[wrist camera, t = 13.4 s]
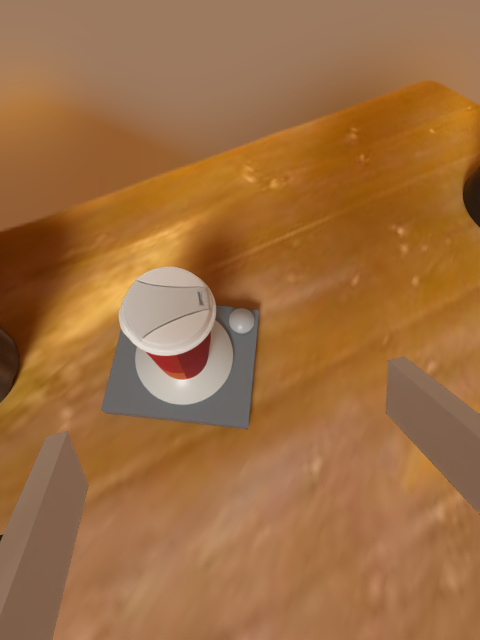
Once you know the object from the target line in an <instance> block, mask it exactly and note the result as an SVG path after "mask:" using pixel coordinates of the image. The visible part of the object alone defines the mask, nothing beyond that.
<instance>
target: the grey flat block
mask: <svg viewBox="0 0 480 640" xmlns="http://www.w3.org/2000/svg"><path fill="white" fill-rule="evenodd" d="M258 318H259V310H256V309H247V308H238V307H230V306H221V305H216V317H215V322H214V325H213V327H212V329H211V341H210V347H209V355H208V360H207V363H206V366H205V367H204V369H203V370H202V371H201V372H200V373H199V374H198V375H197V376H195V377H193V378H190V379H185V380H179V379H175V378H172V377H170V376H168V375H167V374H166V373H165V372H164V371H163V370H162V369H161V368H160V367H159V366H158V365H157V364H156V363H155V362H154V361H153V360H152V358H151V357H150V356H149V355H148V354H147V353H146V352H145V351H144V350H142V349H140V348H138V347H137V346H136V345H135V344H133V343H132V341H131V340H130V339H129V338H128V337H127V336H126V335H125V334H124V333H123V331H122V329H121V332H120V336H119V340H118V344H117V348H116V352H115V356H114V360H113V364H112V368H111V372H110V376H109V380H108V384H107V388H106V393H105V397H104V401H103V405H102V409H101V411H103V412H105V413H108V414H117V415H126V416H134V417H143V418H152V419H161V420H170V421H178V422H187V423H196V424H205V425H213V426H222V427H231V428H240V429H248V425H249V415H250V404H251V393H252V382H253V372H254V361H255V350H256V339H257V328H258Z"/></svg>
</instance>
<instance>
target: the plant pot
mask: <svg viewBox="0 0 480 640" xmlns="http://www.w3.org/2000/svg"><path fill="white" fill-rule="evenodd" d="M18 368H19V356H18V351H17V348H16V346H15V344H14V341H13V340H12V339H11V337H10V336H9V335H8V334H7V333H6V332H5V331H4V330H3V329H2V328H0V402H1V401H2V400H3V399H4V397H5V396H6V395H7V394H8V392H9V391H10V389H11V387H12V382H13V379H14V377H15V374H16V372H17V371H18Z"/></svg>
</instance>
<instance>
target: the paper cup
mask: <svg viewBox="0 0 480 640" xmlns="http://www.w3.org/2000/svg"><path fill="white" fill-rule="evenodd" d="M215 317H216V303H215V299H214V296H213V294H212V292H211V290H210V289H209V287H208V286H207V284H206V283H205V282H204V281H203V280H201V279H200V278H199V277H197V276H196V275H194V274H193V273H191V272H189V271H187V270H184V269H182V268H177V267H160V268H156V269H153V270H150V271H148V272H146V273H144V274H143V275H141V276H140V277H138V278H137V279H136V280H135V282H134V283H133V285H132V286H131V287H130V289H129V291H128V292H127V294H126V296H125V297H124V300H123V302H122V305H121V308H120V310H119V321H120V326H121V329H122V331H123V333H124V334H125V335H126V336H127V337H128V338H129V339H130V340H131V341H132V343H133V344H135V345H136V346H137V347H138V348H140V349H142V350H144V351H145V352H146V353H147V354H148V355H149V356H150V357H151V358H152V360H153V361H154V362H155V363H156V364H157V365H158V366H159V367H160V368H161V369H162V370H163V371H164V372H165V373H166V374H167V375H168V376H170V377H172V378H175V379H179V380H185V379H190V378H193V377H195V376H197V375H198V374H199V373H200V372H201V371H202V370H203V369H204V367H205V366H206V363H207V360H208V355H209V347H210V341H211V329H212V327H213V325H214V322H215Z"/></svg>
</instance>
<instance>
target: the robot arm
mask: <svg viewBox="0 0 480 640" xmlns="http://www.w3.org/2000/svg"><path fill="white" fill-rule="evenodd" d="M464 202H465V205H466V208H467V210H468V212H469V214H470V215H471V217H472V218H473V220H474V221H475V222H476V223H477V224H478V225H479V226H480V167H478V168H477V170H476V171H475V172H474V173H473V174H472V176H471V177H470V178H469V179H468V181H467V182H466V184H465V187H464ZM386 414H387V415H388V416H389V417H390V418H391V419H392V420H393V421H394V422H395V423H396V425H397V426H398V427H399V428H400V429H401V430H402V431H403V432H404V433H405V434H406V435H407V436H408V438H409V439H410V440H411V441H412V442H413V443H414V444H415V445H416V446H417V447H418V448H419V449H420V451H421V452H422V453H423V454H424V455H425V456H426V457H427V458H428V459H429V460H430V461H431V462H432V464H433V465H434V466H435V467H436V468H437V469H438V470H439V471H440V472H441V473H442V474H443V475H444V477H445V478H446V479H447V480H448V481H449V482H450V483H451V484H452V485H453V486H454V487H455V488H456V490H457V491H458V492H459V493H460V494H461V495H462V496H463V497H464V498H465V499H466V500H467V501H468V503H469V504H470V505H471V506H472V507H473V508H474V509H475V510H476V511H477V512H478V513H479V514H480V414H479V413H477V412H476V411H475V410H473V409H472V408H471V407H469V406H468V405H467V404H466V403H464V402H463V401H462V400H460V399H459V398H458V397H456V396H455V395H454V394H453V393H451V392H450V391H449V390H447V389H446V388H445V387H443V386H442V385H441V384H439V383H438V382H437V381H436V380H434V379H433V378H432V377H430V376H429V375H428V374H426V373H425V372H424V371H423V370H421V369H420V368H419V367H417V366H416V365H415V364H413V363H412V362H411V361H409V360H408V359H407V358H406V357H401V358H396V359H392V360H388V370H387V398H386ZM88 486H89V485H88V482H87V480H86V477H85V474H84V472H83V469H82V467H81V464H80V462H79V459H78V457H77V454H76V452H75V449H74V447H73V444H72V441H71V439H70V436H69V434H68V431H67V432H63V433H58V434H54V435H49V436H46V438H45V441H44V443H43V445H42V447H41V450H40V452H39V454H38V457H37V459H36V461H35V463H34V466H33V468H32V470H31V473H30V475H29V477H28V479H27V482H26V484H25V486H24V489H23V491H22V493H21V495H20V498H19V500H18V502H17V505H16V507H15V509H14V511H13V514H12V516H11V518H10V521H9V523H8V525H7V527H6V530H5V532H4V534H3V535H0V640H52V638H53V634H54V630H55V626H56V621H57V617H58V613H59V609H60V604H61V600H62V596H63V592H64V587H65V583H66V579H67V575H68V570H69V566H70V562H71V558H72V553H73V549H74V545H75V541H76V536H77V532H78V528H79V524H80V519H81V515H82V511H83V507H84V502H85V498H86V494H87V490H88Z"/></svg>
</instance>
